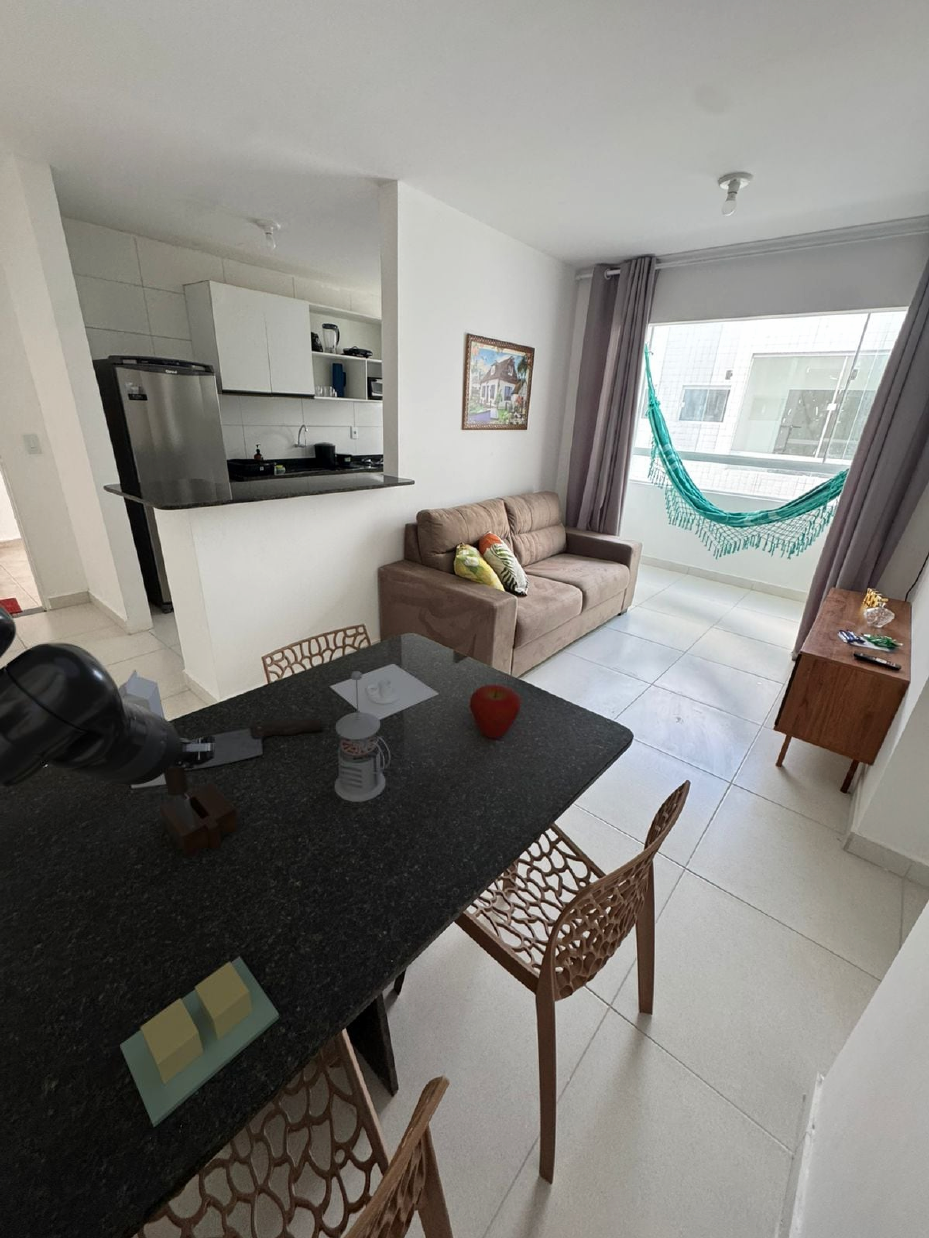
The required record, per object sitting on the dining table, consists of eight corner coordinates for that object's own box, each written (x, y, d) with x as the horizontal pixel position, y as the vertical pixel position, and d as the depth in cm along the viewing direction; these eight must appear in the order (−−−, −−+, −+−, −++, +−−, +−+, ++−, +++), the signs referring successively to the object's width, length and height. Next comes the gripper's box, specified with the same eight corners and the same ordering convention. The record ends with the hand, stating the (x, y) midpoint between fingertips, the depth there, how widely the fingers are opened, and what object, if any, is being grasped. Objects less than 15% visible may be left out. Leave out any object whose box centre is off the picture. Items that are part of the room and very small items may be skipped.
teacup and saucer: (360, 693, 129) (359, 679, 127) (386, 683, 134) (386, 669, 132) (380, 709, 123) (379, 694, 121) (406, 698, 128) (406, 684, 126)
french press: (357, 760, 106) (353, 653, 96) (403, 781, 101) (404, 671, 91) (323, 788, 98) (315, 675, 88) (370, 813, 93) (368, 696, 83)
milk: (132, 789, 95) (103, 687, 86) (141, 767, 100) (115, 670, 91) (168, 784, 97) (144, 684, 88) (175, 763, 102) (153, 667, 93)
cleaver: (321, 718, 118) (320, 711, 117) (328, 743, 110) (327, 735, 109) (177, 746, 107) (175, 738, 106) (173, 776, 99) (171, 768, 98)
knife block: (190, 863, 81) (186, 842, 79) (161, 821, 88) (156, 801, 87) (243, 832, 87) (239, 812, 85) (211, 796, 94) (208, 777, 93)
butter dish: (154, 1127, 52) (144, 1102, 50) (121, 1048, 58) (111, 1023, 56) (279, 1017, 62) (275, 993, 60) (240, 959, 68) (235, 935, 66)
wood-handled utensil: (183, 833, 67) (166, 759, 62) (168, 813, 70) (150, 741, 65) (202, 823, 68) (187, 750, 63) (186, 804, 71) (170, 733, 66)
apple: (518, 723, 121) (523, 679, 116) (514, 752, 111) (520, 705, 106) (472, 716, 122) (475, 673, 117) (464, 744, 112) (467, 697, 108)
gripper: (201, 700, 55) (236, 728, 71) (51, 712, 52) (122, 738, 67) (198, 773, 52) (234, 784, 68) (39, 790, 49) (116, 798, 65)
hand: (178, 761), depth 68 cm, fingers closed on wood-handled utensil, 2 cm apart
